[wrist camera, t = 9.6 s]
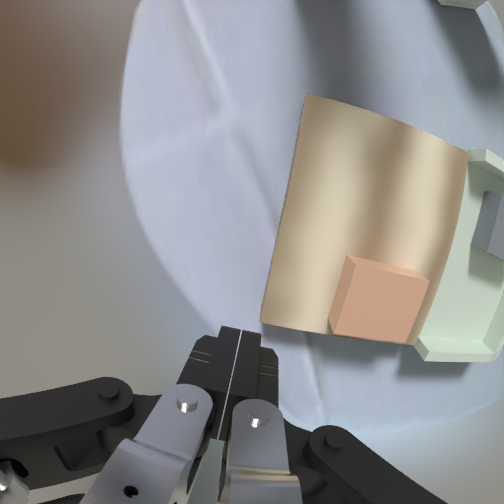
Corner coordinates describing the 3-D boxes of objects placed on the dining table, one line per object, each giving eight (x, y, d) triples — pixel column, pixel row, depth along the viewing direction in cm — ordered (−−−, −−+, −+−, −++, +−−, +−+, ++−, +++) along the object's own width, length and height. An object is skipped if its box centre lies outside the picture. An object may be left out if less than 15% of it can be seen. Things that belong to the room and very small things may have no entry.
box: (518, 189, 18) (547, 193, 14) (473, 340, 23) (494, 361, 18) (454, 151, 19) (486, 148, 14) (404, 334, 23) (424, 361, 19)
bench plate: (450, 154, 19) (468, 153, 16) (402, 329, 23) (414, 345, 20) (303, 104, 19) (307, 93, 16) (261, 305, 24) (259, 322, 21)
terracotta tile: (414, 270, 19) (429, 280, 16) (393, 327, 20) (405, 342, 18) (346, 254, 19) (355, 264, 17) (327, 317, 20) (333, 333, 18)
